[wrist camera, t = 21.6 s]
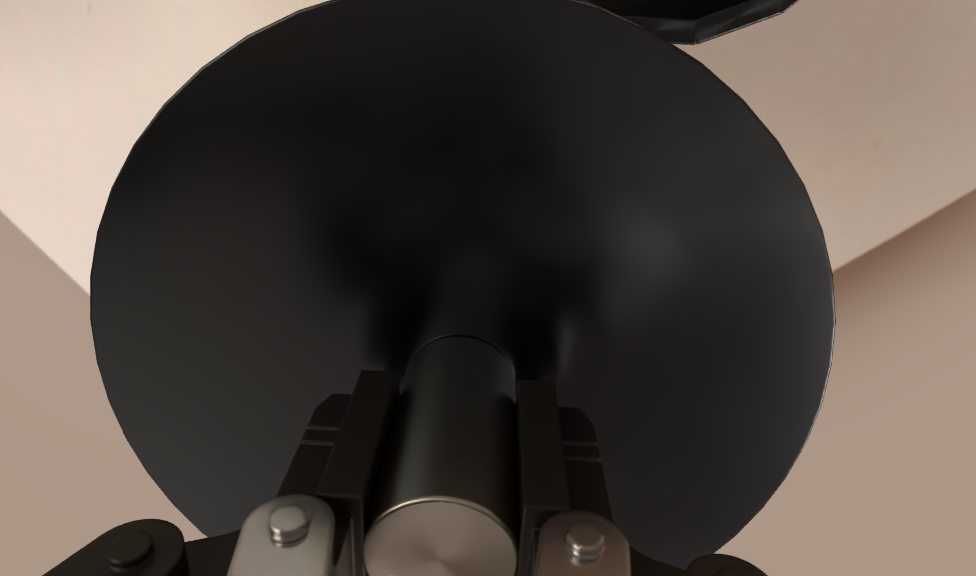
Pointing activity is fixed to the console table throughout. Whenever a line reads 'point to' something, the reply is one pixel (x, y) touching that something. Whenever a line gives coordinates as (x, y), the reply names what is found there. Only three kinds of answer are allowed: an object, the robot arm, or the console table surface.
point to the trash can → (693, 16)
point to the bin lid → (465, 274)
